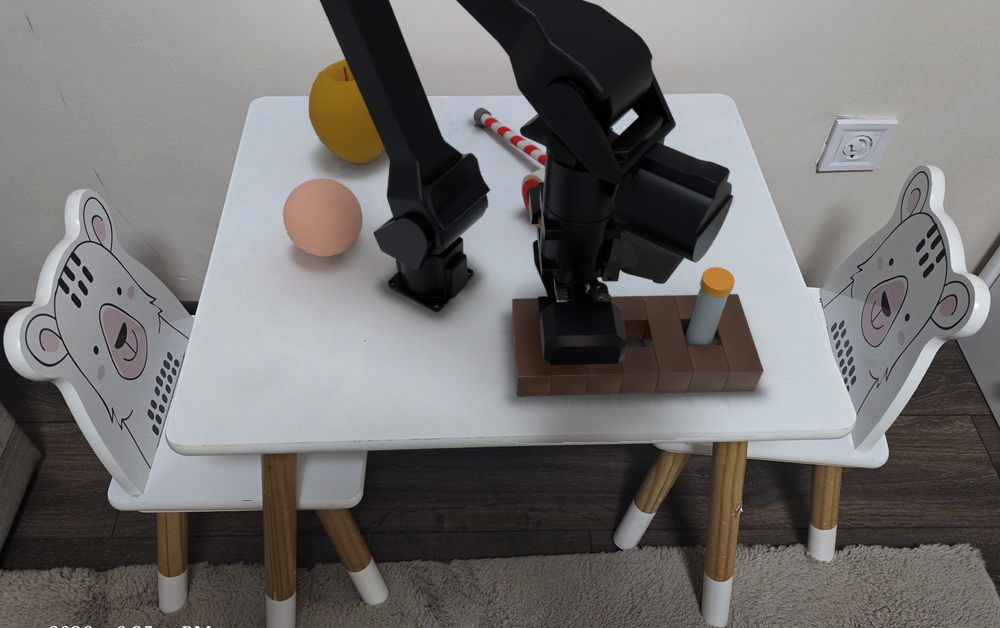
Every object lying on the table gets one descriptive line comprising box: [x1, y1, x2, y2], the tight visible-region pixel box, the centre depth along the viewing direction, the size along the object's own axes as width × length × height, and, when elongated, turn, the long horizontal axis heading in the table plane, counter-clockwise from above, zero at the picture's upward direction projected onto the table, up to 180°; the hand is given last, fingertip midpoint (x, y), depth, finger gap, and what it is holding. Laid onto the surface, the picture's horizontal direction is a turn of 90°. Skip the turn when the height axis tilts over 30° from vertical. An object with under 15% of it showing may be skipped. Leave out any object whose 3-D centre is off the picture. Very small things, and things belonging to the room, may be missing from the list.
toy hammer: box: [473, 107, 546, 228], centre depth 87 cm, size 23×12×6 cm, turn 35°
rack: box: [511, 293, 764, 397], centre depth 70 cm, size 22×9×3 cm, turn 92°
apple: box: [308, 58, 385, 165], centre depth 86 cm, size 10×10×12 cm
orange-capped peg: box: [685, 266, 736, 346], centre depth 67 cm, size 3×3×10 cm
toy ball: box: [282, 177, 364, 257], centre depth 77 cm, size 8×8×8 cm
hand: (565, 331), depth 68 cm, fingers closed on tube grey, 2 cm apart
